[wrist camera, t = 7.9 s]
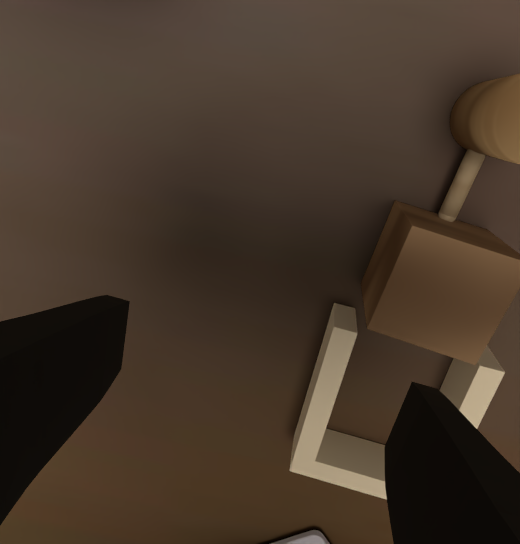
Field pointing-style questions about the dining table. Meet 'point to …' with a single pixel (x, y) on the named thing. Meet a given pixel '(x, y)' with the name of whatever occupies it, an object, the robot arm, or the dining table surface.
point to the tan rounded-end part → (450, 244)
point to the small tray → (359, 452)
